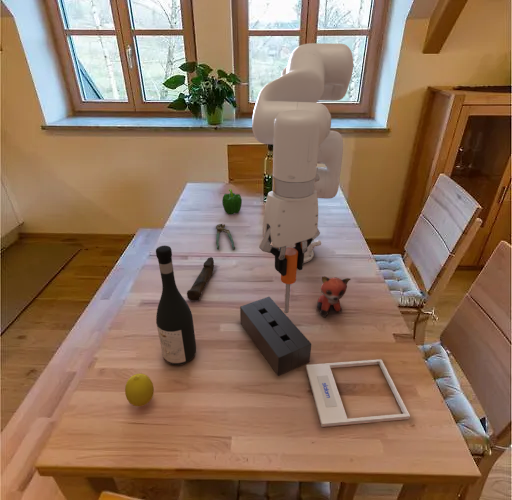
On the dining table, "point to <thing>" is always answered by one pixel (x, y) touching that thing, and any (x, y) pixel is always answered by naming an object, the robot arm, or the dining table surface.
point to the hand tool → (201, 280)
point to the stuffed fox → (331, 294)
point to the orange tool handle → (290, 274)
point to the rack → (275, 335)
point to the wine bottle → (173, 315)
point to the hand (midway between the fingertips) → (288, 268)
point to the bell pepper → (232, 202)
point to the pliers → (221, 229)
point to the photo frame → (330, 399)
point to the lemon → (139, 389)
